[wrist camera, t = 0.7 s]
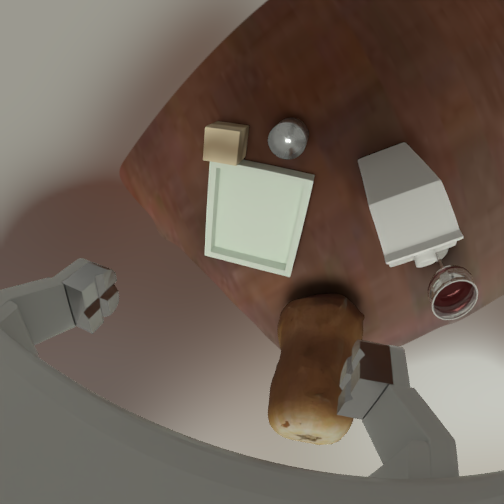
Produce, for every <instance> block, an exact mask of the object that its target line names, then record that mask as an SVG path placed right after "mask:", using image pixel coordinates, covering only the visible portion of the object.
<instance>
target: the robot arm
mask: <svg viewBox="0 0 504 504" xmlns="http://www.w3.org/2000/svg"><path fill="white" fill-rule="evenodd" d="M116 281H117V279H116V274H115V272H114V271H113V270H112V269H109V268H107V267H104V266H102V265H99V264H97V263H94V262H91V261H88V260H86V259H83V258H81V259H78V260H76V261H75V262H74V263H72V264H71V265H70V266H68V267H67V268H65V269H64V270H62V271H61V272H60V273H58V274H57V275H56V276H54V277H53V278H52V279H51V278H46V279H41V280H37V281H33V282H30V283H26V284H22V285H18V286H14V287H10V288H7V289H3V290H0V504H504V470H503V471H498V472H492V473H485V474H478V475H469V476H459V473H458V461H457V452H456V444H455V440H454V439H453V437H452V436H451V435H450V433H449V432H448V431H447V429H446V428H445V427H444V426H443V424H442V423H441V422H440V420H439V419H438V418H437V416H436V415H435V414H434V413H433V411H432V410H431V409H430V407H429V406H428V405H427V404H426V402H425V401H424V400H423V399H422V397H421V396H420V395H419V394H418V392H417V391H416V390H415V389H414V388H410V384H409V376H408V370H407V363H406V357H405V351H404V349H403V347H398V346H392V345H385V344H380V343H375V342H370V341H365V340H360V339H357V340H356V342H355V343H354V345H353V347H352V356H350V357H348V358H347V360H346V362H345V364H344V366H343V369H342V372H341V377H340V385H339V386H340V388H341V389H342V392H341V394H340V396H339V397H338V407H337V415H341V416H346V417H351V418H357V419H362V422H363V423H364V426H365V428H366V430H367V432H368V434H369V436H370V438H371V440H372V442H373V444H374V446H375V448H376V450H377V452H378V454H379V456H380V458H381V461H382V463H383V466H381V467H380V468H379V469H378V470H376V471H375V472H374V473H372V474H371V475H370V476H369V477H361V476H351V475H341V474H333V473H327V472H320V471H314V470H308V469H303V468H297V467H292V466H287V465H282V464H278V463H274V462H269V461H265V460H261V459H257V458H253V457H250V456H246V455H243V454H239V453H236V452H233V451H229V450H226V449H222V448H220V447H217V446H213V445H211V444H208V443H205V442H202V441H199V440H196V439H193V438H191V437H188V436H186V435H183V434H180V433H178V432H175V431H173V430H170V429H168V428H166V427H163V426H161V425H159V424H156V423H154V422H152V421H149V420H147V419H145V418H143V417H141V416H139V415H136V414H134V413H132V412H130V411H128V410H126V409H124V408H122V407H120V406H118V405H116V404H114V403H112V402H110V401H109V400H107V399H105V398H103V397H101V396H99V395H97V394H96V393H94V392H92V391H90V390H89V389H87V388H85V387H83V386H82V385H80V384H79V383H77V382H75V381H74V380H72V379H70V378H69V377H67V376H66V375H64V374H62V373H61V372H59V371H58V370H56V369H55V368H53V367H52V366H50V365H49V364H47V363H46V362H44V361H43V360H42V359H40V358H39V357H38V352H37V350H36V348H35V346H34V345H36V344H38V343H40V342H42V341H45V340H47V339H49V338H51V337H54V336H56V335H58V334H60V333H62V332H65V331H67V330H69V329H71V328H74V327H75V326H78V327H80V328H81V329H84V330H86V331H88V332H90V333H92V334H93V333H94V332H95V331H96V330H97V329H98V328H99V326H100V325H101V324H102V323H103V320H104V317H106V316H109V315H111V314H112V313H113V312H114V311H115V309H116V307H117V304H118V301H119V293H118V290H117V288H116V287H115V285H114V284H115V282H116Z"/></svg>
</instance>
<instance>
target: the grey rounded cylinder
mask: <svg viewBox="0 0 504 504" xmlns="http://www.w3.org/2000/svg"><path fill="white" fill-rule="evenodd" d="M308 138H309V130H308V128H307V126H306V124H305V123H304V122H303V121H301V120H300V119H297V118H293V117H290V118H286V119H283V120H282V121H281V122H279V123H278V124H277V125H276V126H275V127H274V128H273V129H272V130H271V132H270V133H269V137H268V144H269V147H270V149H271V151H272V152H273V153H274V154H275V155H276V156H278V157H280V158H282V159H294V158H296V157H298V156H299V155H300V154H302V152H303V151H304V149H305V146H306V144H307V141H308Z"/></svg>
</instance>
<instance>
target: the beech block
mask: <svg viewBox="0 0 504 504" xmlns="http://www.w3.org/2000/svg"><path fill="white" fill-rule="evenodd" d="M248 132H249V126H248V125H242V124H235V123H228V122H220V121H217V122H215V123H213V124H210V125H208V126H206V127H205V137H204V152H203V160H205V161H211V162H217V163H223V164H228V165H234V166H237V165H238V164H239V163H240V162H241V161H242V160H243V159H244V158H245V157H246V149H247V141H248Z"/></svg>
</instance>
